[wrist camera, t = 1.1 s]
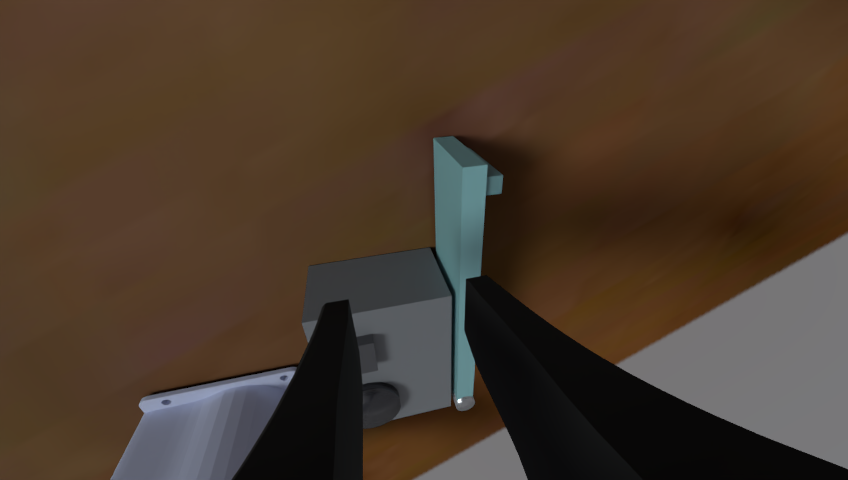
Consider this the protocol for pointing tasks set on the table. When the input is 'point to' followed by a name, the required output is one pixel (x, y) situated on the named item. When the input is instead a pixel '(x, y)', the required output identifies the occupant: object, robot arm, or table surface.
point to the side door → (460, 243)
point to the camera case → (392, 328)
